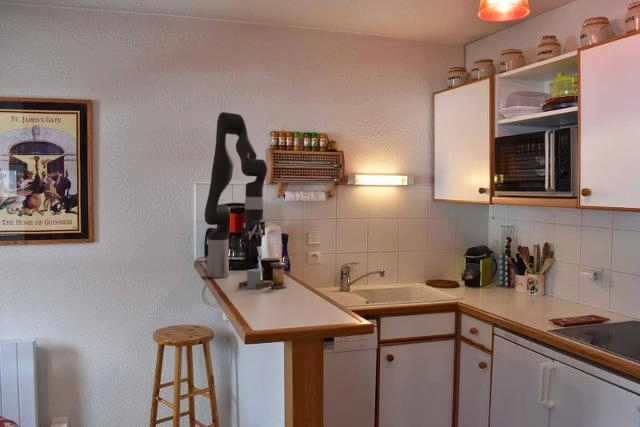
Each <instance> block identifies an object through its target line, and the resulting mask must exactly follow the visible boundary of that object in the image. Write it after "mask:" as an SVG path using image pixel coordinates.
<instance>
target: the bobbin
mask: <svg viewBox="0 0 640 427" xmlns="http://www.w3.org/2000/svg"><path fill="white" fill-rule="evenodd" d="M271 266H273V283H272V285H271V286H270V288H271V289H272V290H273V289H274V290H281V289H282V290H283V289H286V287H287V286H286V284H284V283H285V282H284V281H285V278H284V277H285V276H284V275H285V269H284V268H285V267H286V266H287V264H286V262H281V261H280V262H277V263H271Z"/></svg>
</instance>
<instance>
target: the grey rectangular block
mask: <svg viewBox="0 0 640 427" xmlns="http://www.w3.org/2000/svg"><path fill="white" fill-rule="evenodd" d="M261 276H262V270H261V269H248V270H246V281H247V287H246V288H247V289H256V284H259V283H261V280H262V279H261Z"/></svg>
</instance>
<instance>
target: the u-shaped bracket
mask: <svg viewBox="0 0 640 427" xmlns="http://www.w3.org/2000/svg"><path fill="white" fill-rule="evenodd" d="M271 285H273V283H272V281H267V280H263V279H261V283H259V284H256V288H255V289H256V290H263V289H266V288H269V287H270V288H271ZM238 288H242V289H243V288H247V280H244V281H240V282H238Z"/></svg>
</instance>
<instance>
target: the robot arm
mask: <svg viewBox="0 0 640 427" xmlns="http://www.w3.org/2000/svg"><path fill="white" fill-rule="evenodd" d="M215 132H216V134H215V150H214V156H213V161H212V167H211V177H210V184H209V191H208V196H207V200H206V204H205V209H204V220H205V223H206V224H207V225H209V226H217V228H216V229H215V230H212V231H211V232H210V233H208V237H207V238H208V240H207V241H208V245H207V246H208V248H207V250H208V255H207V256H206V277H209V278H216V279H218V278H219V279H220V278H227V277H229V272H230V271H229V268H230V267H229V264H230V263H229V262H230V261H229V260H230V259H229V258H230V257H229V255H230V254H229V250H230V249H229V246H230V244H229V237H230V233H231V219H232V218H231V216H232V215H231V210H230V207H229V206H228V205H226V204H219V201H220V198H221V195H222V193H223V192H224V191H225V189H226V188H227V187H228V185H229V184H230V182H231V181H232V179H233V173H234V172H233V171H234V161H233V158H232V156H231V154H230V151H229V149H228V145H227V135H236V136H237V137H238V139H237V141H236V144H235V150H236V153H237V154H238V156H239V159H240V166H241V167H240V168H241V173H242V174H243V175H244V176H246V177H256V178H255V180H253V181H250V182H249V181H248V182H247V183H246V184H245V198H244V220H246V222H242V223H241V236H240V237H241V238H242V239H244V248H245V249H248V250H249V249H251V246H252V245H251V241H252V240H251V238H252V236H253V235H254V234H255V237H256V238H255V240H256V242H255V245H256V247H259V248H260V247H262V243H263V240H262V239H263V237H264V236H265V235H266V222H265V221H262V220H264V199H263V198H264V184H265V180H266V176H267V174H268V169H269V168H268V163H267V161H265V160H264V159H259V158H258V157H257V152H256V150H255V147H254V146H253V143H251V140H250V137H249V133H248V128H247V126H246V123H245V119H244V118H243V116H242V115H241V114H238V113H231V112H220V113H219V115H218V117H217V121H216V131H215Z"/></svg>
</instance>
